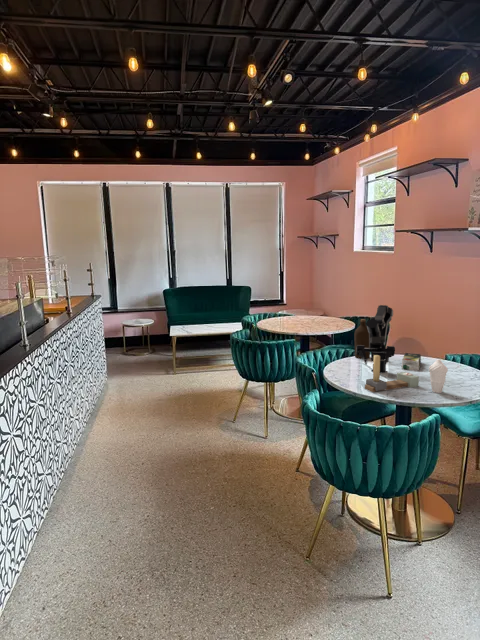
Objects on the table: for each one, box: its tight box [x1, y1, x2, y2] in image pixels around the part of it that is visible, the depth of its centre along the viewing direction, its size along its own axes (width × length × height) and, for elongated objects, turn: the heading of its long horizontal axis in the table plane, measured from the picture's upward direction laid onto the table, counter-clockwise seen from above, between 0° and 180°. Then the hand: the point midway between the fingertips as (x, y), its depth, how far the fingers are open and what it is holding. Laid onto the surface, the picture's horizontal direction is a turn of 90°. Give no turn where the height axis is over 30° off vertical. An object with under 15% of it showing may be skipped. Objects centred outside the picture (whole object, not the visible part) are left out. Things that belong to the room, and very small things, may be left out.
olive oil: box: [353, 318, 371, 360], centre depth 272 cm, size 11×11×25 cm
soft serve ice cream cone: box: [428, 358, 449, 394], centre depth 202 cm, size 8×8×16 cm
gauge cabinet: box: [396, 371, 420, 388], centre depth 216 cm, size 5×10×6 cm, turn 20°
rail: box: [364, 379, 409, 393], centre depth 211 cm, size 22×6×2 cm, turn 110°
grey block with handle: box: [365, 355, 387, 392], centre depth 208 cm, size 6×8×16 cm
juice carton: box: [401, 352, 422, 371], centre depth 250 cm, size 20×10×6 cm, turn 155°
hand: (375, 364), depth 212 cm, fingers open, 9 cm apart
